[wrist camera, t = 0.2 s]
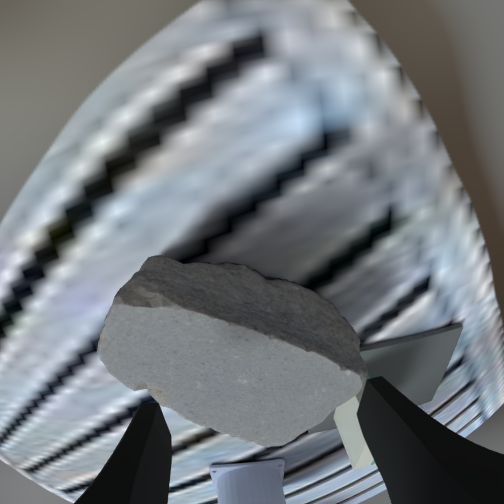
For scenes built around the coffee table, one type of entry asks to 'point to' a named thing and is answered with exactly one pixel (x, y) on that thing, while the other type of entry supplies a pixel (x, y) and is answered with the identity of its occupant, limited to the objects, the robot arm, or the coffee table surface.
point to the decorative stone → (232, 348)
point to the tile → (353, 432)
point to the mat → (408, 365)
